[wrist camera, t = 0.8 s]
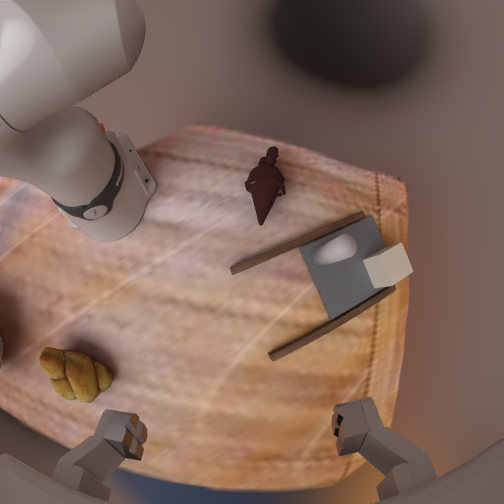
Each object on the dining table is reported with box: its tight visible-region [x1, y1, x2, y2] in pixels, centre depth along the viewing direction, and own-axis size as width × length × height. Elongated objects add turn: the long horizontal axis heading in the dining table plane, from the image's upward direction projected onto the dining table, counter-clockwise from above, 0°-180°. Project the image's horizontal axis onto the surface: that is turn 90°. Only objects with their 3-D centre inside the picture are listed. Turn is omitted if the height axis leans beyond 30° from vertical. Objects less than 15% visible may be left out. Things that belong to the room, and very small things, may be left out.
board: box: [299, 216, 386, 319], centre depth 44 cm, size 14×18×11 cm
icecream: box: [245, 146, 286, 225], centre depth 46 cm, size 7×7×15 cm
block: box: [363, 242, 413, 288], centre depth 47 cm, size 6×6×6 cm
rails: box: [230, 211, 396, 362], centre depth 47 cm, size 17×28×2 cm, turn 114°
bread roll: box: [40, 347, 112, 403], centre depth 35 cm, size 13×10×8 cm
